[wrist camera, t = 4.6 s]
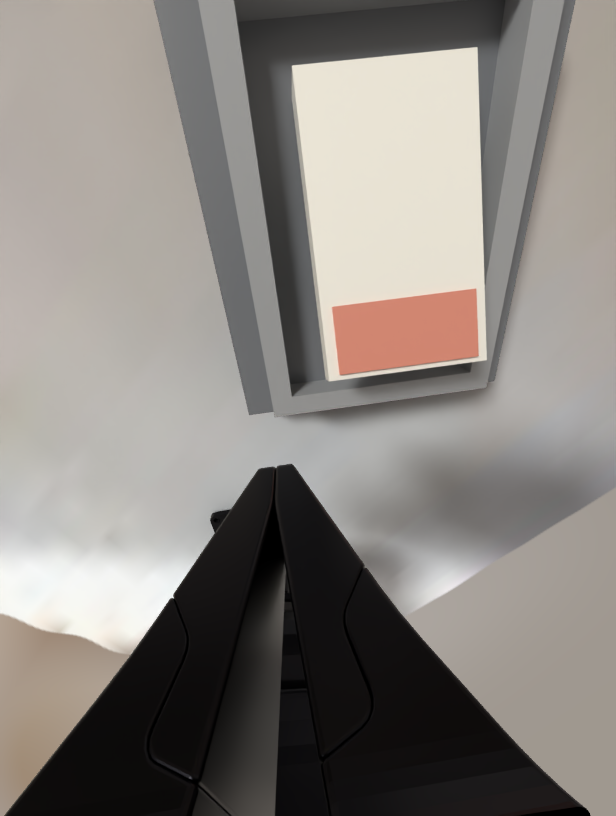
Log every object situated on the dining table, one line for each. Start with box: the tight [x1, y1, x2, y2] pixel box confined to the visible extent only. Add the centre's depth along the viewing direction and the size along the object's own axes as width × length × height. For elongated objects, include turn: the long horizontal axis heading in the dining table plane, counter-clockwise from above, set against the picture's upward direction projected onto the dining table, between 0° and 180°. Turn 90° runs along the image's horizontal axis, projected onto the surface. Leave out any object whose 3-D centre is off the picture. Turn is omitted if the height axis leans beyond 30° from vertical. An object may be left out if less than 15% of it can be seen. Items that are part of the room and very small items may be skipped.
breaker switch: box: [292, 47, 487, 381], centre depth 11 cm, size 10×6×1 cm, turn 6°
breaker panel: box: [154, 0, 575, 417], centre depth 14 cm, size 16×14×4 cm
